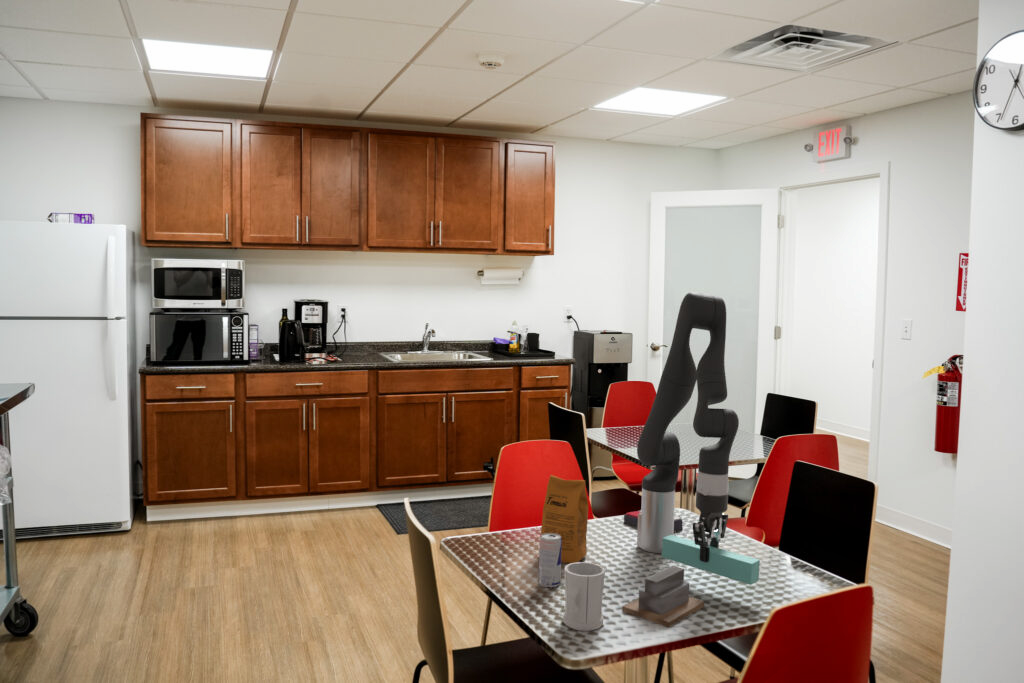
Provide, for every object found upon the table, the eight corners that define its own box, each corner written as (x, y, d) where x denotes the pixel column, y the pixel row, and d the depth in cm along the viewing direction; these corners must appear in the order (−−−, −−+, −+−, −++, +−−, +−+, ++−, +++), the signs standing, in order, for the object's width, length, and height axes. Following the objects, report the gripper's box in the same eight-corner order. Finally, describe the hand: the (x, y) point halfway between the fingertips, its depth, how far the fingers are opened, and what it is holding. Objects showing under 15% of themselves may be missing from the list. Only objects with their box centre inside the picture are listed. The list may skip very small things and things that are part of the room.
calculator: (648, 507, 249) (683, 516, 237) (648, 520, 249) (683, 530, 237) (623, 512, 243) (657, 521, 231) (623, 525, 243) (657, 536, 231)
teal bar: (661, 557, 195) (662, 538, 194) (670, 553, 197) (671, 534, 197) (750, 584, 178) (752, 563, 178) (758, 580, 181) (759, 559, 181)
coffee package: (552, 547, 217) (554, 470, 216) (591, 556, 210) (594, 477, 209) (534, 557, 209) (536, 477, 207) (574, 567, 202) (577, 484, 201)
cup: (608, 635, 162) (610, 579, 161) (565, 635, 161) (567, 579, 160) (599, 614, 172) (600, 561, 171) (558, 614, 171) (560, 561, 171)
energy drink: (563, 581, 191) (564, 534, 190) (557, 589, 186) (558, 540, 185) (542, 578, 193) (543, 531, 192) (536, 586, 188) (537, 538, 187)
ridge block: (622, 611, 174) (623, 575, 173) (659, 592, 186) (660, 558, 185) (668, 627, 166) (670, 590, 165) (704, 606, 178) (705, 571, 177)
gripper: (712, 482, 194) (709, 548, 195) (683, 492, 184) (680, 562, 185) (740, 488, 189) (736, 556, 190) (712, 498, 179) (708, 570, 180)
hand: (708, 558), depth 188 cm, fingers closed on teal bar, 4 cm apart
